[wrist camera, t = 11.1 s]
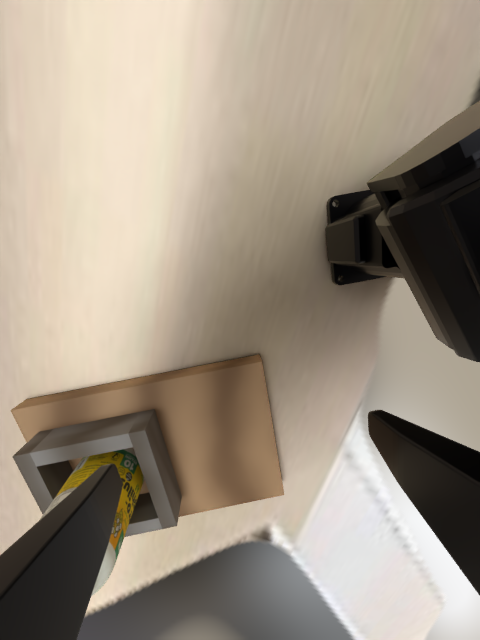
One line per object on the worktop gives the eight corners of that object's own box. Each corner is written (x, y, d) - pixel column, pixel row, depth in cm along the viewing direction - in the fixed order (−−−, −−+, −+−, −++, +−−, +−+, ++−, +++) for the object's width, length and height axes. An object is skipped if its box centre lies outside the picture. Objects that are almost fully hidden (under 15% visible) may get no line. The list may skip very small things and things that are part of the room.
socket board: (259, 354, 20) (267, 376, 17) (280, 480, 24) (291, 522, 20) (25, 399, 20) (-22, 433, 16) (83, 521, 24) (56, 572, 20)
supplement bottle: (76, 442, 20) (-54, 607, 10) (142, 436, 20) (73, 591, 11) (90, 493, 21) (-14, 679, 12) (152, 487, 21) (98, 663, 12)
